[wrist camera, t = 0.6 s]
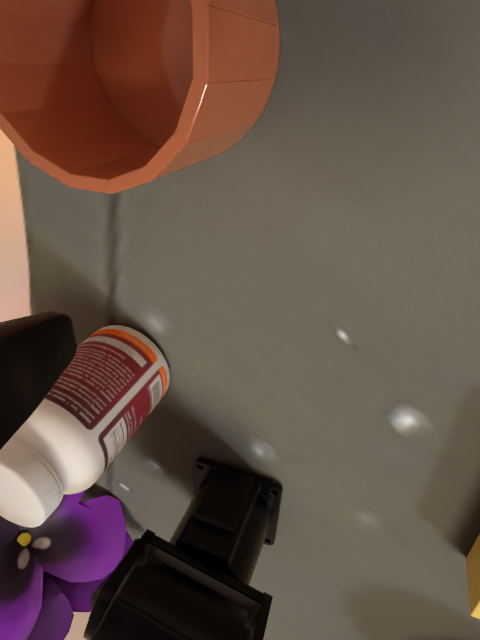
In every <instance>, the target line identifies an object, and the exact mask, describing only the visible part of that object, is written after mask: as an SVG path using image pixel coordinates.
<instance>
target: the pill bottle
mask: <svg viewBox="0 0 480 640" xmlns="http://www.w3.org/2000/svg"><path fill="white" fill-rule="evenodd" d="M169 382H170V372H169V368H168V365H167V362H166V360H165V358H164V356H163V354H162V353H161V351H160V350H159V349H158V348H157V346H156V345H155V344H154V343H153V342H152V341H151V340H150V339H148V338H147V337H146V336H145V335H143V334H142V333H140V332H138V331H136V330H134V329H132V328H129V327H126V326H121V325H112V326H106V327H103V328H101V329H99V330H98V331H96V332H95V333H93V334H92V335H91V336H89V337H88V338H87V339H86V340H85V341H83V342H82V343H81V344H80V345H78V346H77V351H76V355H75V357H74V359H73V360H72V361H71V363H70V364H69V365H68V367H67V368H66V370H65V371H64V372H63V374H62V375H61V376H60V378H59V379H58V380H57V382H56V383H55V385H54V386H53V387H52V389H51V390H50V391H49V393H48V394H47V395H46V397H45V398H44V400H43V401H42V402H41V404H40V405H39V406H38V407H37V409H36V410H35V411H34V412H33V414H32V415H31V416H30V417H29V418H28V420H27V421H26V422H25V423H24V424H23V425H22V426H21V427H20V429H19V430H18V431H17V432H16V433H15V434H14V435H13V436H12V438H11V439H10V440H9V441H8V442H7V443H6V444H5V445H4V447H3V448H2V449H1V450H0V516H2V517H3V518H5V519H7V520H8V521H10V522H13V523H15V524H17V525H20V526H24V527H31V528H32V527H37V526H40V525H41V524H42V523H44V521H45V520H46V519H47V518H48V517H49V516H50V515H51V514H52V513H53V511H54V510H55V509H56V508H57V507H58V506H59V504H60V502H61V500H62V498H63V494H67V495H68V494H76V493H80V492H82V491H84V490H86V489H88V488H89V487H91V486H92V485H93V484H94V483H95V482H96V481H97V479H98V478H99V477H100V476H101V475H102V473H103V472H104V471H105V470H106V468H107V467H108V466H109V464H110V463H111V462H112V461H113V459H114V458H115V457H116V456H117V454H118V453H119V452H120V451H121V449H122V448H123V447H124V446H125V444H126V443H127V442H128V441H129V439H130V438H131V437H132V436H133V434H134V433H135V432H136V430H137V429H138V428H139V427H140V426H141V424H142V423H143V422H144V420H145V419H146V418H147V417H148V415H149V414H150V413H151V412H152V410H153V409H154V408H155V407H156V405H157V404H158V403H159V402H160V400H161V399H162V398H163V396H164V395H165V393H166V391H167V389H168V386H169Z"/></svg>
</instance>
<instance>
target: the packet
mask: <svg viewBox="0 0 480 640" xmlns="http://www.w3.org/2000/svg"><path fill="white" fill-rule="evenodd" d="M466 567H467V580H468V593H469V605H470V615H471V616H473V617H476V618H478V619H480V534H479V536H478V538H477V539H476V541H475V543H474V545H473V547H472V548H471V550H470V552H469V554H468V555H467V557H466Z"/></svg>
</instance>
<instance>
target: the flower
mask: <svg viewBox="0 0 480 640" xmlns="http://www.w3.org/2000/svg"><path fill="white" fill-rule="evenodd" d="M84 492H85V490H84V491H82V492H80V493H76V494H68V495H67V494H63V498H62V500H61V502H60V504H59V506H58V507H57V508H56V509H55V510H54V511H53V513H52V514H51V515H50V516H49V517H48V518H47V519H46V520H45V521H44V523H42V524H41V525H40V526H37V527H32V528H31V527H24V526H20V525H17V524H15V523H13V522H10V521H8V520H7V519H5V518H3V517H2V516H0V640H64V638H65V637H66V635H67V634H68V632H69V630H70V627H71V623H72V620H73V616H74V615H73V611H74V612H90V611H92V609H91V602H90V599H91V596H92V594H93V593H94V591H95V590H96V589H97V587H98V586H99V585H100V584H101V583H102V582H103V581H104V580H105V579H106V578H107V577H108V575H109V574H110V573H111V572H112V571H113V570H114V569H115V568H116V567H117V566H118V564H119V563H120V562H121V560H122V559H123V557H124V556H125V554H126V553H127V551H128V550H129V548H130V546H131V545H132V543H133V540H132V539H131V537H130V535H129V534H128V532H127V531H126V522H125V518H124V515H123V511H122V507H121V504H120V500H117V499H115V498H113V497H110V496H108V495H105V496H101V497H97V498H93V499H90V500H86V501H82V502H79V501H80V499H81V497H82V496H83V494H84Z"/></svg>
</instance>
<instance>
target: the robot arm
mask: <svg viewBox="0 0 480 640" xmlns="http://www.w3.org/2000/svg"><path fill="white" fill-rule="evenodd" d="M76 351H77V344H76V338H75V333H74V327H73V322H72V319H71V318H70V316H68V315H67V314H63V313H59V312H54V311H49V312H45V313H40V314H36V315H31V316H27V317H22V318H18V319H13V320H9V321H4V322H0V450H1V449H2V448H3V447H4V445H5V444H6V443H7V442H8V441H9V440H10V439H11V438H12V436H13V435H14V434H15V433H16V432H17V431H18V430H19V429H20V427H21V426H22V425H23V424H24V423H25V422H26V421H27V420H28V418H29V417H30V416H31V415H32V414H33V412H34V411H35V410H36V409H37V407H38V406H39V405H40V404H41V402H42V401H43V400H44V398H45V397H46V395H47V394H48V393H49V391H50V390H51V389H52V387H53V386H54V385H55V383H56V382H57V380H58V379H59V378H60V376H61V375H62V374H63V372H64V371H65V370H66V368H67V367H68V365H69V364H70V363H71V361H72V360H73V359H74V357H75V355H76ZM282 491H283V489H282V487H281V486H280V485H279V484H277V483H275V482H272V481H269V480H266V479H263V478H260V477H257V476H254V475H251V474H248V473H245V472H242V471H239V470H236V469H233V468H230V467H227V466H224V465H221V464H218V463H215V462H212V461H209V460H207V459H204V458H197V459H196V461H195V463H194V497H193V499H192V501H191V503H190V505H189V507H188V508H187V510H186V512H185V514H184V516H183V518H182V519H181V521H180V523H179V525H178V527H177V529H176V530H175V532H174V534H173V536H172V538H171V540H170V541H169V542H167V541H165V540H164V539H162V538H160V537H158V536H156V535H155V533H154V532H152V531H150V530H148V529H147V530H146V532H145V533H144V535H143V536H142V537H141V539H139V538H138V539H135V540H134V542H133V543H132V545H131V546H130V548H129V550H128V551H127V553H126V554H125V556H124V557H123V559H122V560H121V562H120V563H119V564H118V566H117V567H116V568H115V569H114V570H113V571H112V572H111V573H110V574H109V575H108V577H107V578H106V579H105V580H104V581H103V582H102V583H101V584H100V585H99V586H98V587H97V589H96V590H95V591H94V593H93V594H92V596H91V599H90V602H91V609H92V611H91V614H90V617H89V621H88V624H87V626H86V629H85V632H84V638H85V639H87V640H263V637H264V633H265V628H266V624H267V619H268V615H269V611H270V606H271V602H272V596H271V595H269V594H267V593H265V592H264V593H262V592H260V591H258V590H256V589H254V588H253V587H251V586H249V584H250V581H251V578H252V575H253V572H254V569H255V566H256V563H257V560H258V557H259V555H260V552H261V549H262V546H263V543H264V544H267V545H273V544H274V541H275V538H276V531H277V524H278V518H279V511H280V504H281V498H282Z"/></svg>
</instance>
